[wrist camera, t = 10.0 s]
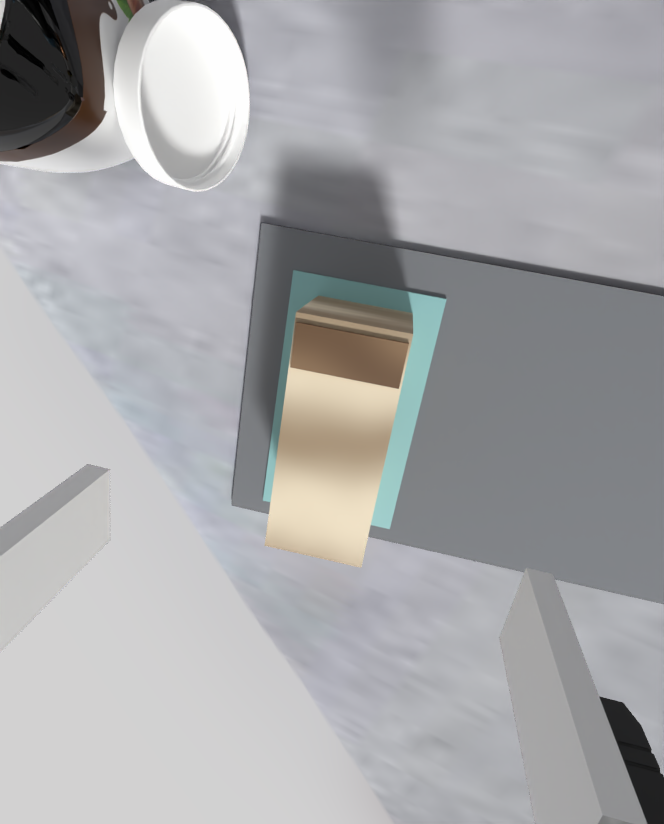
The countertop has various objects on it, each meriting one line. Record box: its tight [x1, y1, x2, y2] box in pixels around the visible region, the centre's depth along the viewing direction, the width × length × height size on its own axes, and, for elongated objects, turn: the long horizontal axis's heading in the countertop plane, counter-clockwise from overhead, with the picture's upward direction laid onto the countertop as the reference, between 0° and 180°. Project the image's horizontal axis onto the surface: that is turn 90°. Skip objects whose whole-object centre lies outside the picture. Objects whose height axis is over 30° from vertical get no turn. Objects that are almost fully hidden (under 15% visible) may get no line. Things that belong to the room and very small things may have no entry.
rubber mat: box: [232, 223, 664, 604], centre depth 28 cm, size 17×27×1 cm, turn 81°
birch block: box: [265, 296, 413, 568], centre depth 25 cm, size 12×5×6 cm, turn 171°
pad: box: [263, 270, 447, 529], centre depth 28 cm, size 14×8×1 cm, turn 171°
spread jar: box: [0, 0, 250, 192], centre depth 19 cm, size 12×11×12 cm
